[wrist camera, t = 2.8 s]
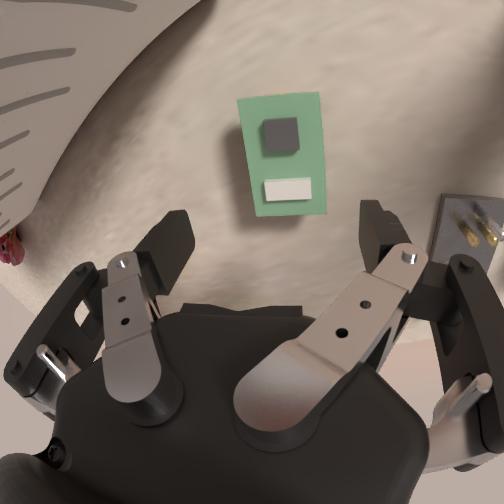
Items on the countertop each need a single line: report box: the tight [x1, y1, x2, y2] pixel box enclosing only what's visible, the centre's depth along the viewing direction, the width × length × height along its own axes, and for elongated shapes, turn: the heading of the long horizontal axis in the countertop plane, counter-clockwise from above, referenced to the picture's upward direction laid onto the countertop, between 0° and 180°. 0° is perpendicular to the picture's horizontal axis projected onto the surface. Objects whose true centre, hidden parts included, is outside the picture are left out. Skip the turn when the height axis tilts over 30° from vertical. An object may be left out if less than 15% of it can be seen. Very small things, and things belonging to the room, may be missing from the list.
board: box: [237, 92, 327, 217], centre depth 20 cm, size 10×6×2 cm, turn 8°
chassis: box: [428, 194, 504, 274], centre depth 23 cm, size 14×10×6 cm
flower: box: [0, 224, 25, 266], centre depth 35 cm, size 11×10×10 cm
